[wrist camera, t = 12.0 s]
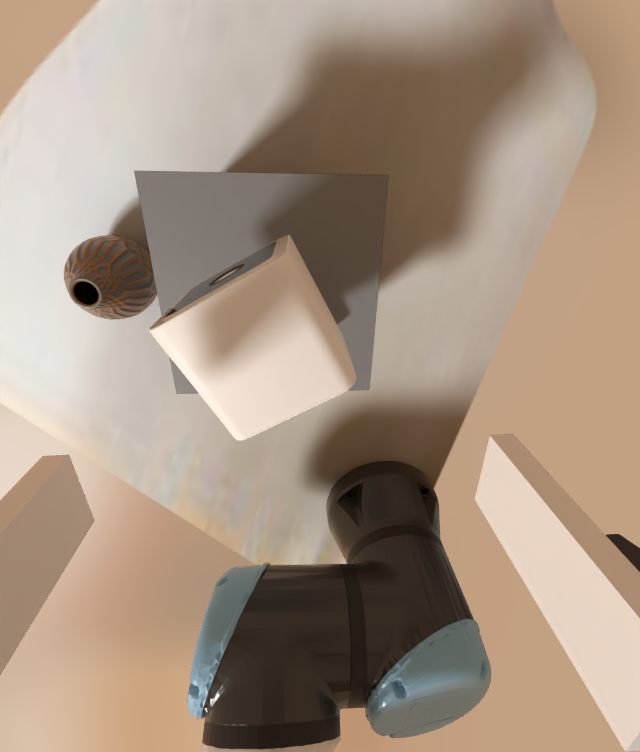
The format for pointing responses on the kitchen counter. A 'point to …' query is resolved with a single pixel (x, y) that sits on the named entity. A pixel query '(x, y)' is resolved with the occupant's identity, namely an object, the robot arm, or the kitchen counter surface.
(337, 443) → the kitchen counter surface
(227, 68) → the kitchen counter surface
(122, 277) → the vase
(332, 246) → the grey flat-topped box
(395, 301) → the kitchen counter surface
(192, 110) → the kitchen counter surface
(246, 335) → the security camera
